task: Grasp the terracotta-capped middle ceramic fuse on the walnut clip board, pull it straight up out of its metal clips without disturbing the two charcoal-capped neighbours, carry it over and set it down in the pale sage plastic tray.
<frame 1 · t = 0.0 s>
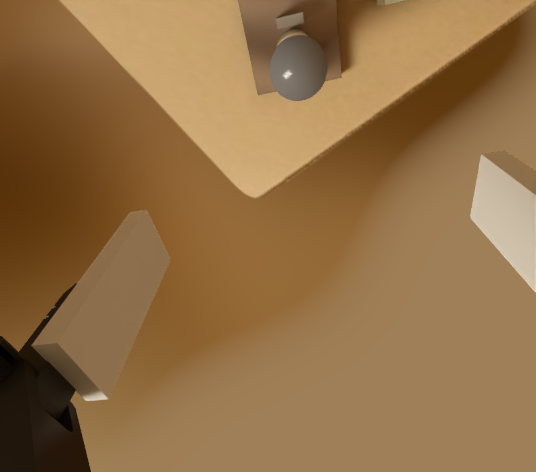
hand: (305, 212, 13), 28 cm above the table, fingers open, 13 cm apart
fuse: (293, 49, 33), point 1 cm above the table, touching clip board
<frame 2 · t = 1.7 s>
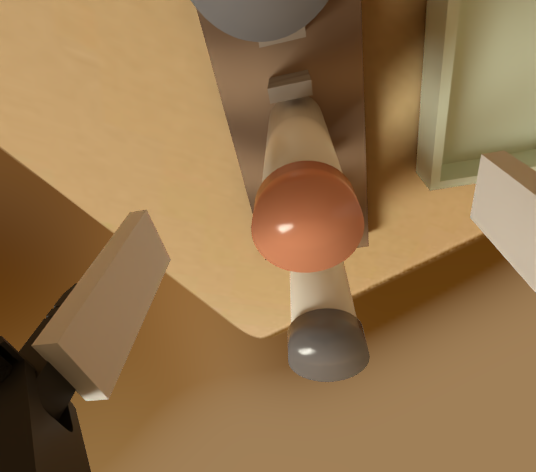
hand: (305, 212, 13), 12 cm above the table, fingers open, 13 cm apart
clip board: (295, 115, 23), on the table
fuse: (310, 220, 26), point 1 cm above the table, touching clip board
tray: (514, 55, 20), on the table
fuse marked: (295, 122, 22), point 1 cm above the table, touching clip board
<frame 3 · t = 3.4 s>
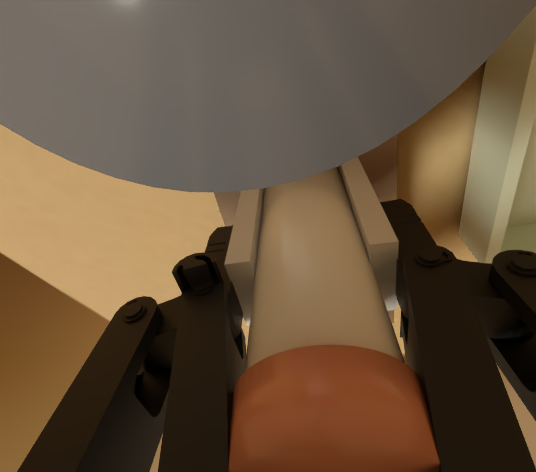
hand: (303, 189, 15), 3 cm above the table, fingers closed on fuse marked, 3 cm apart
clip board: (300, 166, 17), on the table
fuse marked: (302, 178, 16), point 2 cm above the table, touching gripper
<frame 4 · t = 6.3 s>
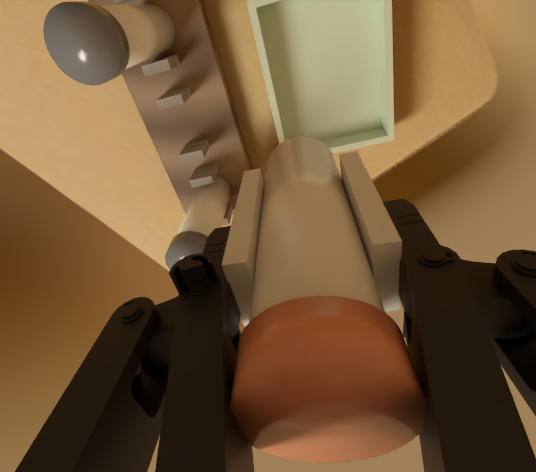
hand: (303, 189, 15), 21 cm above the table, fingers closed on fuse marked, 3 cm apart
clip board: (191, 116, 34), on the table
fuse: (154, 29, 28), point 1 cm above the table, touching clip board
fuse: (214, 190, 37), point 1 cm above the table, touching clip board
tray: (324, 71, 31), on the table
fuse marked: (300, 170, 17), point 19 cm above the table, touching gripper
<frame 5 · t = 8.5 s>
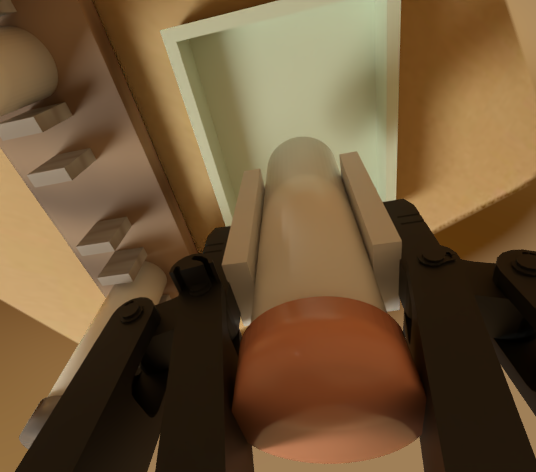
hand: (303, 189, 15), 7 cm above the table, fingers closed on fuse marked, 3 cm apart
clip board: (106, 182, 24), on the table
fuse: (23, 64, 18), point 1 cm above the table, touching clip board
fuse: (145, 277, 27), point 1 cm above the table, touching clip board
tray: (295, 132, 21), on the table
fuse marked: (301, 170, 17), point 5 cm above the table, touching gripper
when the fingers open (3 cm above the table, at t = 9.5 s): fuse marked stays where it is, resting on tray.
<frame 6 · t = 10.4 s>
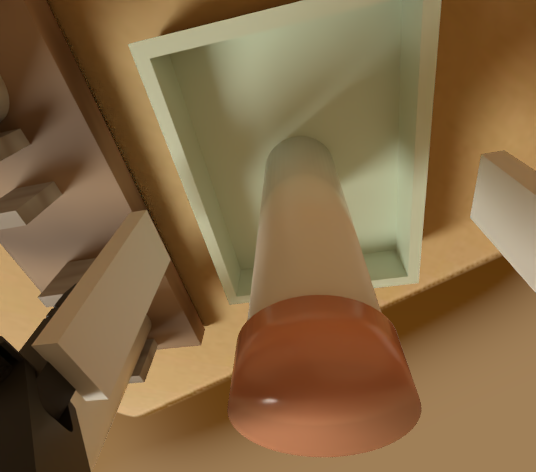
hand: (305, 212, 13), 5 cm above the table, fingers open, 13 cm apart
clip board: (78, 217, 20), on the table
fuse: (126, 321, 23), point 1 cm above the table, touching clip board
tray: (300, 162, 18), on the table
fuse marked: (299, 170, 17), point 1 cm above the table, touching tray
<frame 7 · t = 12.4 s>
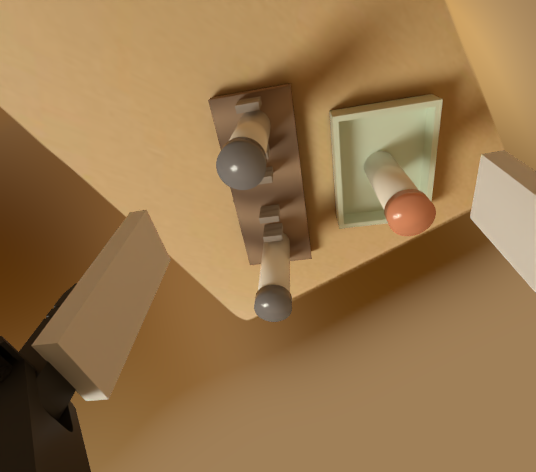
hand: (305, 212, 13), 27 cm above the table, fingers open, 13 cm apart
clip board: (267, 185, 42), on the table
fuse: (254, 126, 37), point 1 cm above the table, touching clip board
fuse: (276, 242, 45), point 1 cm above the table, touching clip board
tray: (378, 162, 40), on the table
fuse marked: (379, 165, 39), point 1 cm above the table, touching tray
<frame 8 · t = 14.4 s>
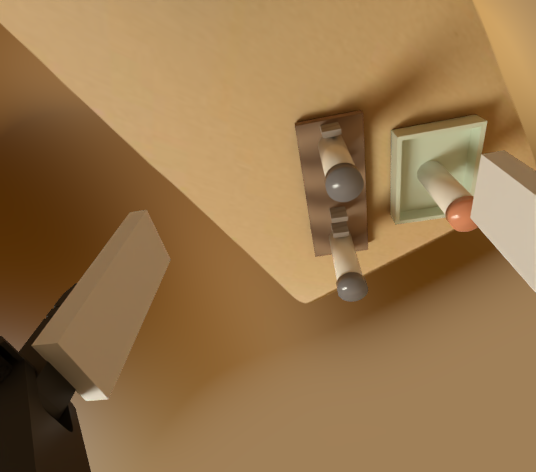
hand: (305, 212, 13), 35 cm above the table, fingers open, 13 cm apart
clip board: (334, 190, 51), on the table
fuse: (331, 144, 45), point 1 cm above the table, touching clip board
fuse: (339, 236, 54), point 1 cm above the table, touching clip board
tray: (428, 169, 48), on the table
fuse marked: (429, 172, 48), point 1 cm above the table, touching tray
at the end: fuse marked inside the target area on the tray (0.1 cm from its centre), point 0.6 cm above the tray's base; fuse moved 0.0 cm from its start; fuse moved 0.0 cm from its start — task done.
